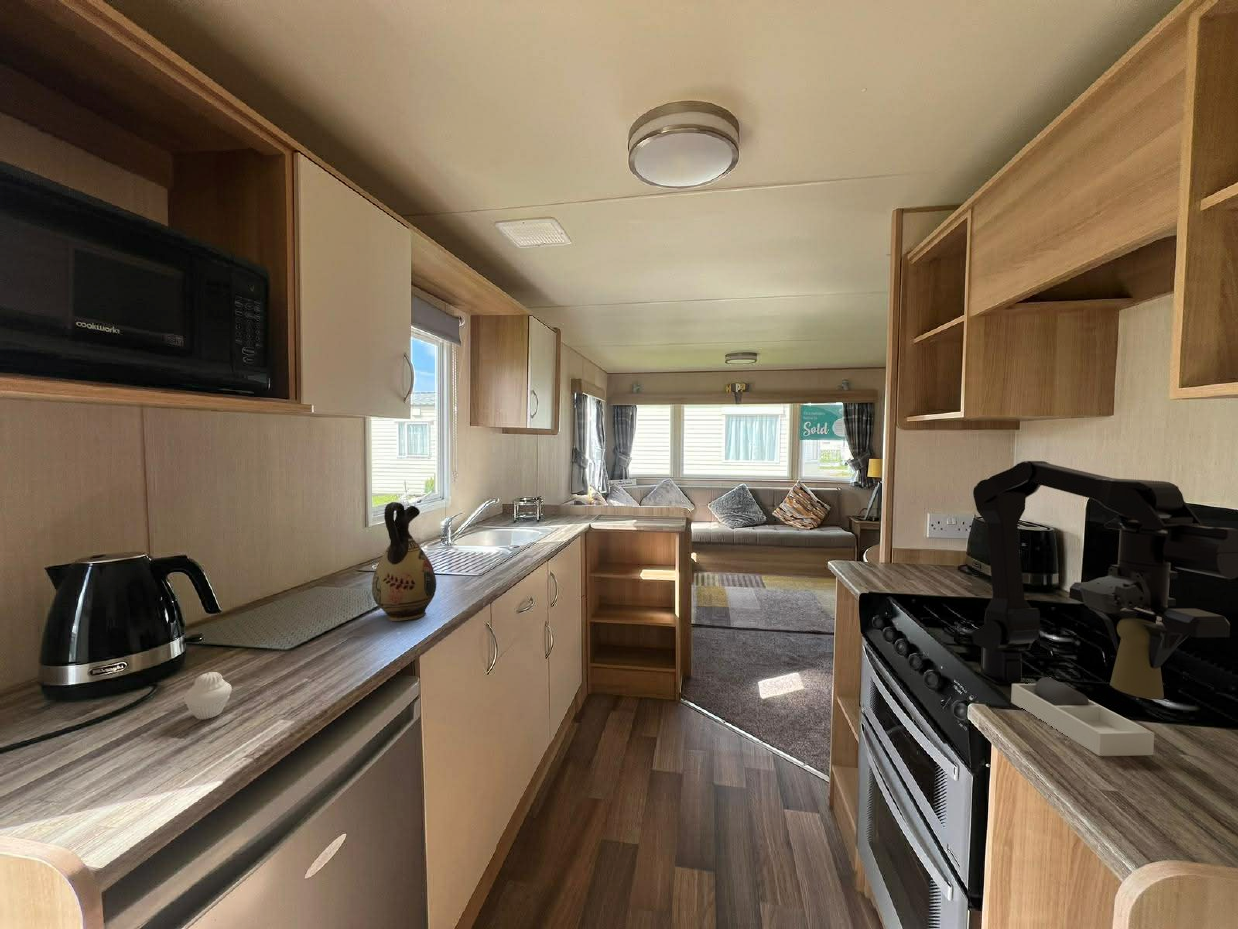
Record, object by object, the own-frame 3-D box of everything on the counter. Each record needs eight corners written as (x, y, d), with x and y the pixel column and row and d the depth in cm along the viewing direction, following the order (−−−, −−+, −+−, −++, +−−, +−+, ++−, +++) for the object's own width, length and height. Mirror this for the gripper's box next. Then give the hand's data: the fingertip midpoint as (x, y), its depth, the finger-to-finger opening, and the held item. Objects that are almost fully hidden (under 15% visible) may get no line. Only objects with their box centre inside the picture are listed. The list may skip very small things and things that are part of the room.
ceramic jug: (394, 605, 145) (394, 497, 144) (446, 609, 143) (447, 499, 142) (354, 625, 128) (353, 503, 127) (412, 630, 126) (412, 506, 125)
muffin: (239, 703, 90) (238, 663, 89) (221, 722, 84) (221, 678, 83) (196, 707, 88) (196, 666, 88) (175, 726, 82) (175, 682, 82)
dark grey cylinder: (1031, 693, 93) (1041, 673, 93) (1049, 702, 93) (1060, 682, 93) (1062, 710, 87) (1073, 688, 87) (1081, 720, 87) (1092, 699, 87)
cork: (1107, 677, 86) (1111, 611, 86) (1160, 689, 82) (1164, 619, 82) (1112, 691, 81) (1116, 621, 81) (1167, 703, 78) (1172, 630, 77)
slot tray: (1011, 702, 94) (1011, 683, 94) (1056, 701, 95) (1057, 683, 95) (1099, 756, 78) (1100, 733, 78) (1153, 755, 79) (1154, 732, 78)
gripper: (1041, 549, 90) (1036, 639, 90) (1162, 578, 71) (1155, 691, 72) (1102, 549, 91) (1096, 638, 91) (1237, 577, 72) (1229, 689, 73)
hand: (1137, 661), depth 82 cm, fingers closed on cork, 4 cm apart
